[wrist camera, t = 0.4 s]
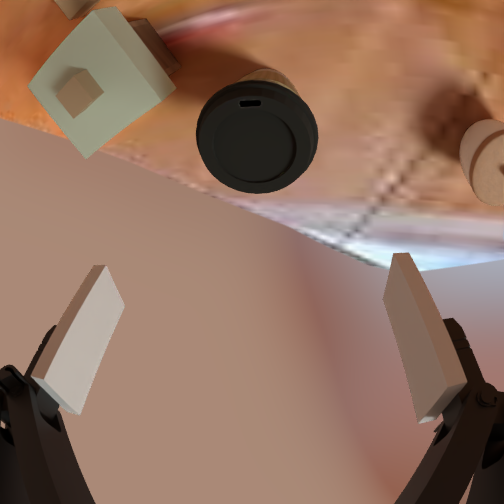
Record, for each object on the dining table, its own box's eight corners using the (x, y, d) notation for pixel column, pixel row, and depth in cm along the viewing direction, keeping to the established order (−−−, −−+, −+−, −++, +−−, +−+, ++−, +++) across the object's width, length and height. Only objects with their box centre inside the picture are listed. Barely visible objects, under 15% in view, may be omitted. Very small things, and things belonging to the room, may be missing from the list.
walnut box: (146, 18, 26) (112, 26, 20) (181, 66, 31) (156, 84, 25) (100, 56, 29) (63, 74, 24) (133, 100, 34) (103, 125, 29)
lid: (115, 6, 19) (79, 12, 15) (176, 88, 25) (153, 109, 21) (49, 73, 24) (14, 93, 19) (103, 141, 30) (76, 169, 26)
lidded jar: (445, 175, 37) (471, 218, 30) (449, 106, 29) (484, 139, 23) (501, 172, 34) (530, 212, 27) (509, 108, 27) (548, 141, 20)
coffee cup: (230, 130, 37) (201, 201, 26) (220, 57, 30) (179, 92, 19) (309, 129, 35) (317, 201, 25) (308, 53, 28) (321, 85, 18)
